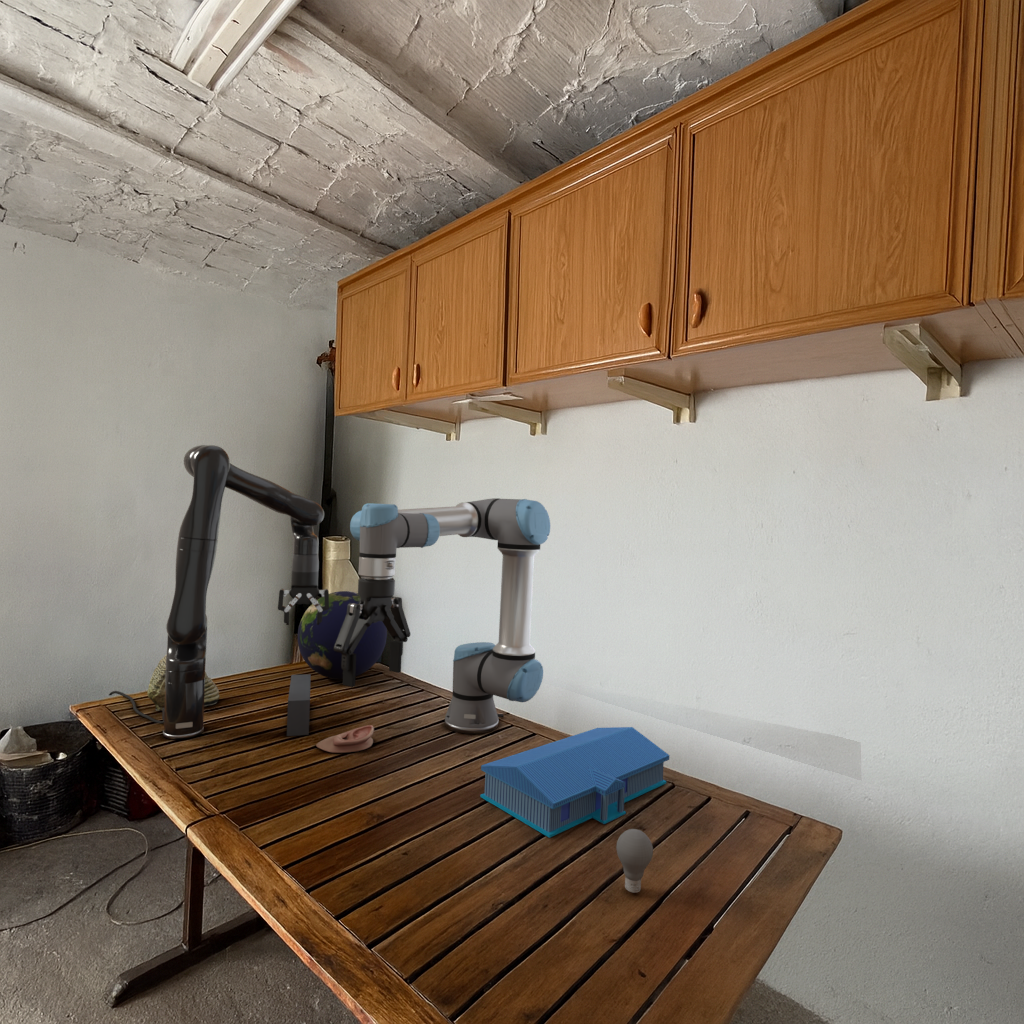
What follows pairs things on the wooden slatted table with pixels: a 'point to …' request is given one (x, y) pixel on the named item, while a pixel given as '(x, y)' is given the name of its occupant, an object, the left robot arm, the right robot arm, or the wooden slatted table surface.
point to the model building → (575, 778)
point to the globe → (322, 637)
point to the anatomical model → (348, 740)
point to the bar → (299, 705)
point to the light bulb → (634, 857)
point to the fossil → (158, 687)
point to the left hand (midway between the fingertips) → (303, 624)
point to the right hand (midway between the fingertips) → (372, 678)
